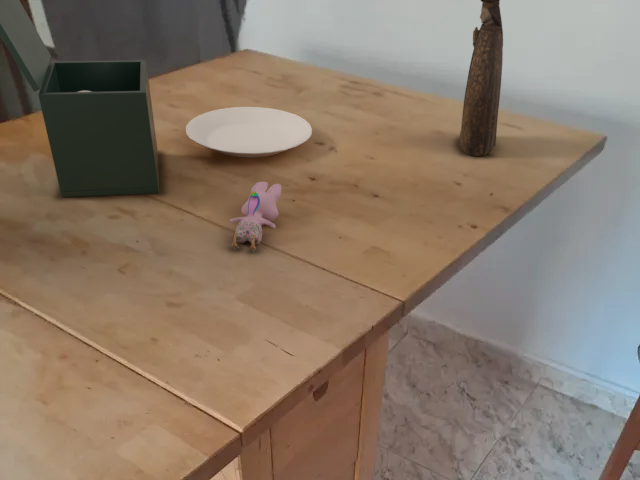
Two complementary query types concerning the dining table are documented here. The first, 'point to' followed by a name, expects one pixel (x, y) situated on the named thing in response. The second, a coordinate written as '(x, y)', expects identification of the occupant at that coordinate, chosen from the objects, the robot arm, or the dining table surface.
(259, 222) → the rabbit figure
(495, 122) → the statue
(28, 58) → the bin lid
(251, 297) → the dining table surface
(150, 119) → the waste bin
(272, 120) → the plate
